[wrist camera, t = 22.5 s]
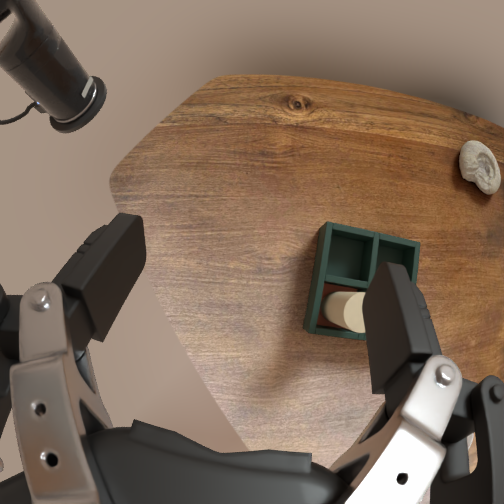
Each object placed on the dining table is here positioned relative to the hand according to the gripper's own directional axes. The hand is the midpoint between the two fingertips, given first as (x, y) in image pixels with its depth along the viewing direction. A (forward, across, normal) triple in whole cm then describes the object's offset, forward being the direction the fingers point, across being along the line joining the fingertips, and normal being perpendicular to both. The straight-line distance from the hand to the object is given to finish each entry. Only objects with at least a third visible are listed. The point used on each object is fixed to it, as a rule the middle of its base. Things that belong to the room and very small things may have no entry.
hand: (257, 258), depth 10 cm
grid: (+21, -14, +19) cm, 32 cm away
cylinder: (+19, -11, +21) cm, 30 cm away
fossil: (+38, -36, +2) cm, 53 cm away
